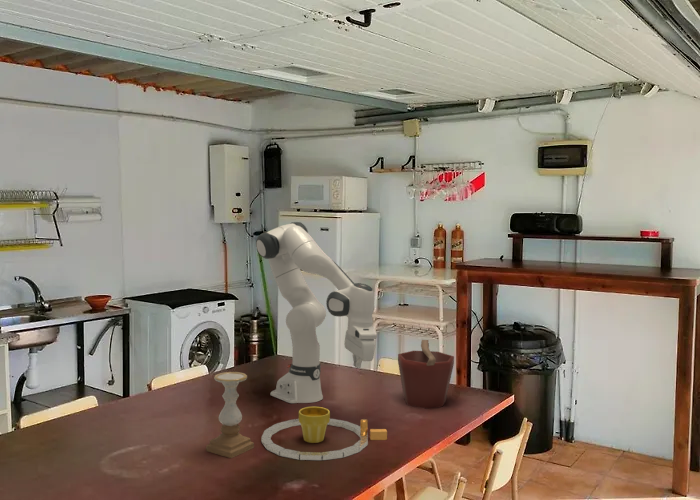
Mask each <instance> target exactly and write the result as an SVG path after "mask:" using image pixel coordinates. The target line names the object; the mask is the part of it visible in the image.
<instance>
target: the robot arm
mask: <svg viewBox="0 0 700 500" xmlns="http://www.w3.org/2000/svg"><path fill="white" fill-rule="evenodd" d="M255 247H256V250H257V253H258V254H259V256H260V257H262V258H263V259H266V260H268V263H269V266H270V270H271V273H272V276H273V278H274V281H275V282H276V285H277V287H278V289H279V291H280V294H281V296H282V297H283V298H284V299H285V300H286V301H287V302H288V304H289V305H290V306H291V307H292V308H291V310H290V311H289V312H288V313H287V315H286V316H285V323H286V327H287V328H288V331H289V334H290V339H291V346H292V362H291V364H287V367H286V368H289V370H288V372H287V373H285V374H284V375H283V376H281V377H280V378H279V379H278V380H277V382H276V388H275V389H274V390H272V391H271V392H270V396H272V397H274V398H277V399H279V400H282V401H284V402H286V403H289V404H297V403H298V404H308V403H316V402H319V401H321V400H323V399H324V396H323V392H322V383H321V369H322V367H321V363H320V355H321V354H320V350H321V345H320V342H319V341H318V338H317V337H318V336H317V330H316V329H317V327H320V326H321V325H322V323H323V322H324V321H325V319H326V317H327V310H328V312H329V314H330V315H332V316H333V317H338V318H339V317H347V329H346V331H345V335H344V349H346V350H347V351H349V352H350V353H351V354H352V361H353V364H352V365H353V366H354V367H355V368H356V369H361V368H362V362H372V361H373V360H374V357H375V349H376V341H375V340H377V337H378V336H377V335H378V334H377V331H376V330H375V328H374V325H373V322H374V321H373V313H374V309H375V293H374V290H373V288H372V286H370V285H368V284H366V283H361V282H356V283H355V282H354V281H353V280H352V279H351V278H350V276H348V275H347V274H346V272H345V271H344V270H343V269H342V267H340V265H338V264H337V262H336V261H334V260H333V259H332V258H331V257H329V255H328V254H326V253H325V252H324V251H323V249H322V248H321V247H320V246H319V245H318V243H317V242H316V241H315V239H314V238H313V237H312V236H311V235H310V233H309V231H308V228H307V227H306V225H305V224H304V223H302V222H301V221H294V222H290V223H287V224H283V225H279V226H277V227H275V228H272V229H271V230H269V231H266V232H263V233H261V234H260V235H258V236H257V238H256V240H255ZM302 271H303V272H304V273H308V274H311V275H318V276H320V277H323V278H325V279H327V280H328V281H330V282H331V284H332V285H333V286H335V288H336V290H333V291H332V292H330V293H329V294H328V296H327V298H326V303H325V304H326V308H325V306H324V305H323V304H322V303H321V302H320V301H319V300H318V298H317V297H316V295H315V294H314V292H313V291H312V290H311V288H310V286H309V284H308V283H307V281H306V279H305V277H304V275H303V272H302ZM326 309H327V310H326Z"/></svg>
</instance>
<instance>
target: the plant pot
mask: <svg viewBox="0 0 700 500" xmlns="http://www.w3.org/2000/svg"><path fill="white" fill-rule="evenodd" d="M298 419H299V422H300V423H301V425H300V426H301V431H302V437H303V441H305V442H307V443H308V444H309V443H311V444H314V443H315V444H316V443H321V442H323V441H324V439H325V434H326V430H327V427H328V425H327V423H329V421H330V419H331V412H330V410H329V409H328V408H325V407H321V406H306V407H303V408H300V409H299V410H298Z"/></svg>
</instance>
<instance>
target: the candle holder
mask: <svg viewBox="0 0 700 500" xmlns="http://www.w3.org/2000/svg"><path fill="white" fill-rule="evenodd" d="M213 378H214V380H215V381H216V382H218V383H220V384H222V386H223V387H224V392H223V394H222V395H221V396H222V398H223V401H224V402H225V403H224V406H223V408H222V409H221V411H220V413H219V415H218V421H219V422H220V423H221V424H222V425H221V426H220V431H221V434H219V435H218V436H217V437H215V438H212V439H211V440H209V444H208V443H207V444H206V446H205V451H206V452H208V453H212V454H214V455H219V456H221V457H225V458H229V459H233V458H235V457H237V456H239V455H242V454H244V453H247V452H248V451H251V450H253V449H254V448H255V442H253V441H252V440H251V437H248V436H244V435H242V434H241V433H240V431H241V427H240V425H239V423H241V421H242V418H243V415H242V414H243V413H242V412H241V410H240V408H239V406H238V404H237V400H238V398H239V397H240V394H239V393H238V391H237V388H238V386H239V384H240V383H241V382H245V381H246V380H247V379H248V375H247V374H246V373H244V372H241V371H240V372H239V371H228V372H227V371H226V372H225V371H224V372H220V373H217V374H215V376H214V377H213Z"/></svg>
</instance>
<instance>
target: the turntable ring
mask: <svg viewBox="0 0 700 500" xmlns="http://www.w3.org/2000/svg"><path fill="white" fill-rule="evenodd" d="M368 420H369V419H367V418H363V419H362V418H361V419H360V424H359V425H358V424H356V423H353V422H351V421H350V422H349V421H347V420H341V419H336V418H330V421H329V423H327V426H332V427H333V426H334V427H338V428H339V427H340V428H343V429H346V430H348V431H351V432H353V433H355V434H356V435H357V436H358V437H359V440H358V441H356V442H355V443H354V444H353V445H351V446H347V447H345V448H342V449H337V450H330V451H323V452H317V451H316V452H315V451H314V452H313V451H299V450H294V449H290V448H285V447H283V446H281V445H278V444H276V443H274V442H273V440H272V439H271V438H272V436H273V435H275V434H276V433H278V432H280V431H282V430H284V429H285V430H286V429H288V428H291V427H296V426H297V427H298V426H301V423H300V422H299V418H294V419H289V420H285V421H281V422H277V423H275V424H273V425H271V426H269V427H268V428H266V429H264V431H263V433H262V435H261V444H262V445H263V446H264V448H265V450H267V451H269V452H271V453H273V454H275V455H277V456H278V457H284V458H287V459H288V458H289V459H293V460H297V461H298V460H300V461H305V460H306V461H327V460H328V461H329V460H336V459H342V458H347V457H349V456H352V455H355V454H357V453H360V452H361V451H363V450H364V449H365V448H366V447H367V446H368V445H369V435H368V434H369V433H368V429H369V428H368V426H369V425H368V423H369V421H368Z"/></svg>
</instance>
